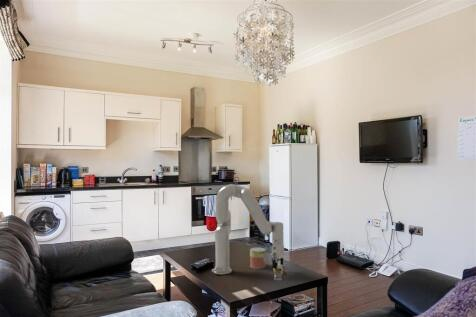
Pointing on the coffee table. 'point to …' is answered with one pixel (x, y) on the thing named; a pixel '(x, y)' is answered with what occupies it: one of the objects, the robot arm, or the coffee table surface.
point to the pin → (278, 264)
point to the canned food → (257, 258)
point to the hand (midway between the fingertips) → (277, 266)
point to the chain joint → (278, 273)
